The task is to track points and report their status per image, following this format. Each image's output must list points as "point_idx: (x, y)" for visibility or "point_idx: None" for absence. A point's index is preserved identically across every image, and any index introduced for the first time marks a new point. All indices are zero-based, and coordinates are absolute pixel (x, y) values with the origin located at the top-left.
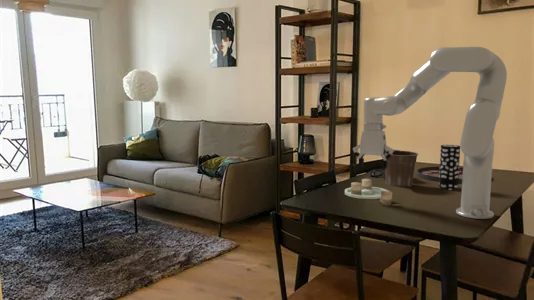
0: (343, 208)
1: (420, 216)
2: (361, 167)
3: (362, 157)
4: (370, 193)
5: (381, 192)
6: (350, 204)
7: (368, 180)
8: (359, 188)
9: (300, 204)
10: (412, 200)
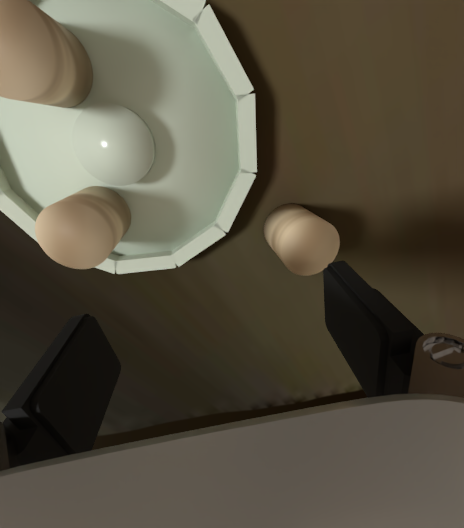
0: (200, 368)
1: (444, 281)
2: (117, 368)
3: (37, 453)
4: (153, 159)
5: (288, 268)
6: (182, 322)
7: (34, 61)
8: (119, 236)
9: None
10: (375, 48)
